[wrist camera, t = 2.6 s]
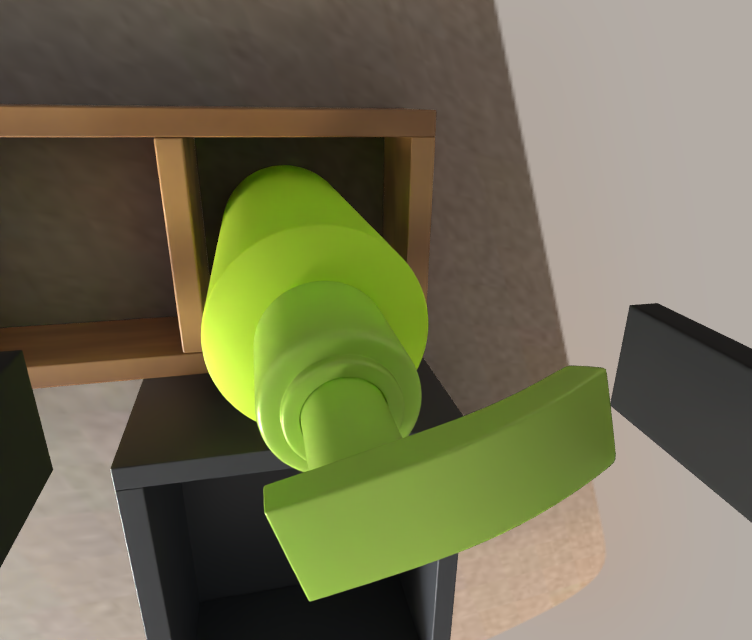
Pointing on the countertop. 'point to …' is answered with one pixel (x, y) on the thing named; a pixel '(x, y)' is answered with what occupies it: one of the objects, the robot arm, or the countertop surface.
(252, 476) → the dark grey open box
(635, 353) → the robot arm
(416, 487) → the soap dispenser
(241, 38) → the countertop surface
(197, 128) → the wooden divided tray
